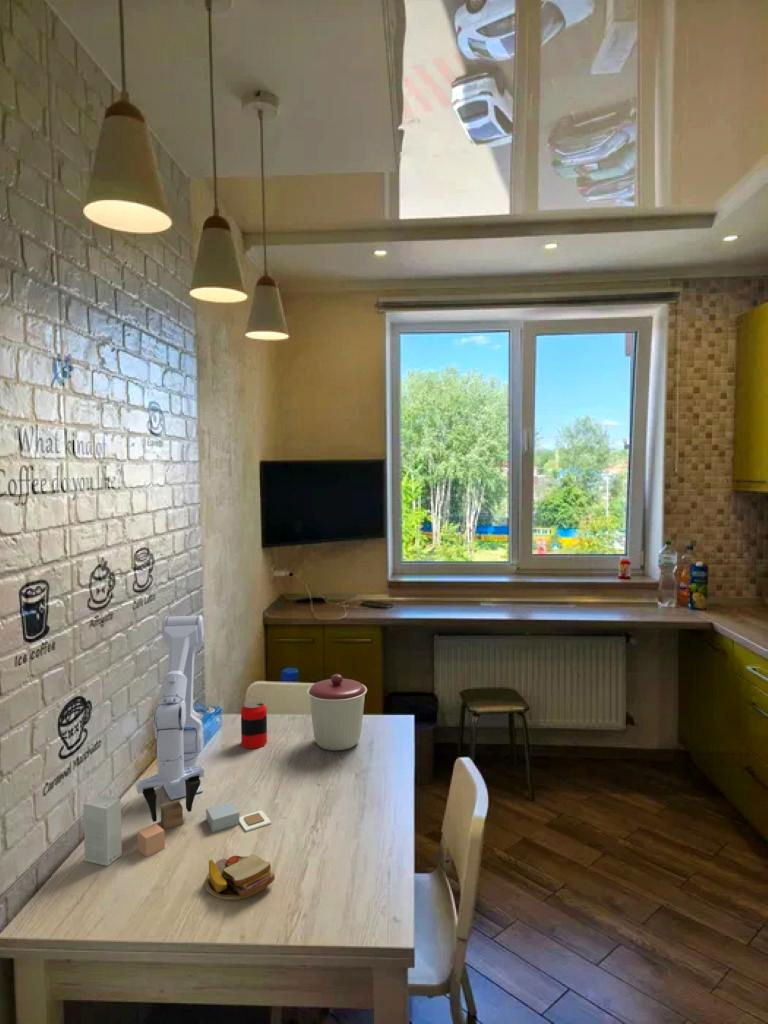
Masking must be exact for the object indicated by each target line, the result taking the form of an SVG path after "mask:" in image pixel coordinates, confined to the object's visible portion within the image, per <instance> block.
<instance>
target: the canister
mask: <svg viewBox="0 0 768 1024" xmlns="http://www.w3.org/2000/svg"><path fill="white" fill-rule="evenodd" d="M367 692H368V688H367V687H366V685H364V684H363V683H361V682H360V681H357V680H354V679H349V678H343V676H342V675H341V673H340V674H339V673H335V674H332V675H331V678H329V679H323V680H320V681H317V682H315V683H314V684H313V685H310V686H309V687H308V688H307V689H306V694H307V696H308V697H309V707H310V714H311V723H312V724H311V725H312V729H313V736H314V740H315V742H316V744H317V746H318V747H320V748H321V749H324V750H328V751H335V752H336V751H345V750H348V749H351V748H354V746H356V745H357V744H358V743H359V741H360V738H361V733H362V728H363V717H364V707H365V697H366V694H367Z"/></svg>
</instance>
